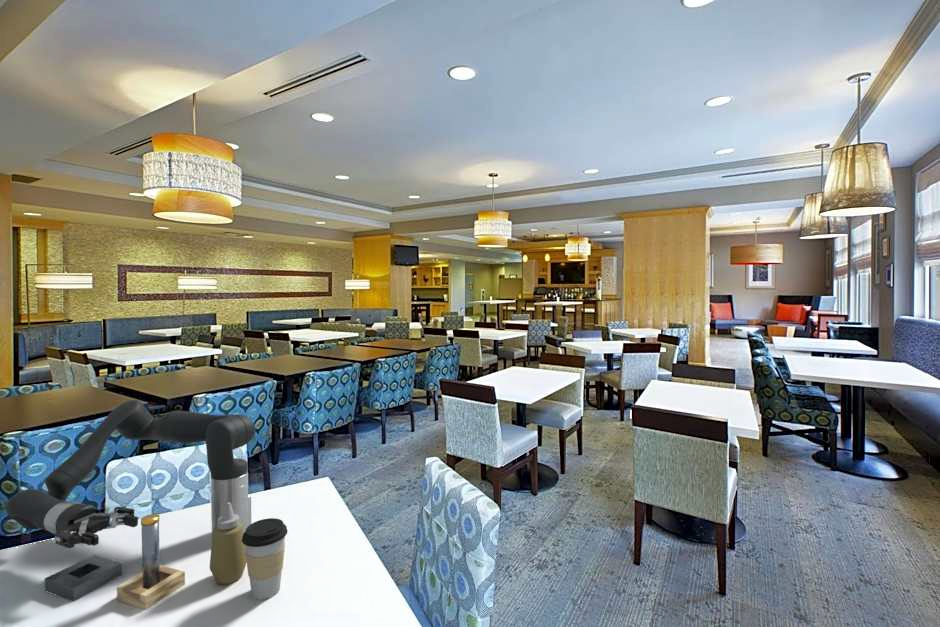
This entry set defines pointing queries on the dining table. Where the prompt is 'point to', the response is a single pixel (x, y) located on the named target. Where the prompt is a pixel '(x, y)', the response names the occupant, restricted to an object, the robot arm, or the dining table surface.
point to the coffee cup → (265, 556)
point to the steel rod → (150, 551)
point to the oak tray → (146, 598)
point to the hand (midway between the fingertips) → (117, 531)
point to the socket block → (83, 577)
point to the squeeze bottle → (228, 548)
